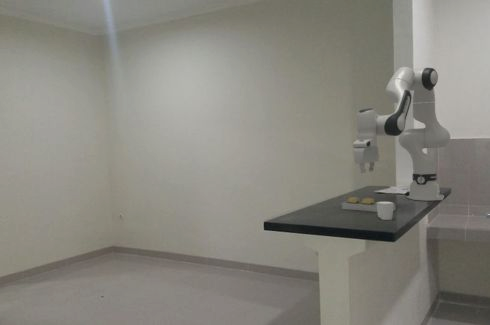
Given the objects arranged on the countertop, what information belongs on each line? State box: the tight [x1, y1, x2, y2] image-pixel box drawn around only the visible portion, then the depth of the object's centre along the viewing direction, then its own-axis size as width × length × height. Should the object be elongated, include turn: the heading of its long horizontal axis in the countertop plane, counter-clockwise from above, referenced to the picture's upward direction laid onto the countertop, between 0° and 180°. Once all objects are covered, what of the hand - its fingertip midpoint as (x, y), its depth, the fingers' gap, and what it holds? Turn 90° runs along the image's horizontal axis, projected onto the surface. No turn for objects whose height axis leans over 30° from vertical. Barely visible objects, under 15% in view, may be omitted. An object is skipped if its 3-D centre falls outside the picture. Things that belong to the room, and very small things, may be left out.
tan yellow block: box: [361, 197, 375, 205], centre depth 192 cm, size 4×4×5 cm
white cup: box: [376, 201, 394, 221], centre depth 173 cm, size 7×7×7 cm
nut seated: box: [347, 196, 360, 204], centre depth 197 cm, size 4×4×5 cm
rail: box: [341, 200, 397, 213], centre depth 193 cm, size 8×23×4 cm, turn 50°
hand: (367, 172), depth 192 cm, fingers open, 8 cm apart
